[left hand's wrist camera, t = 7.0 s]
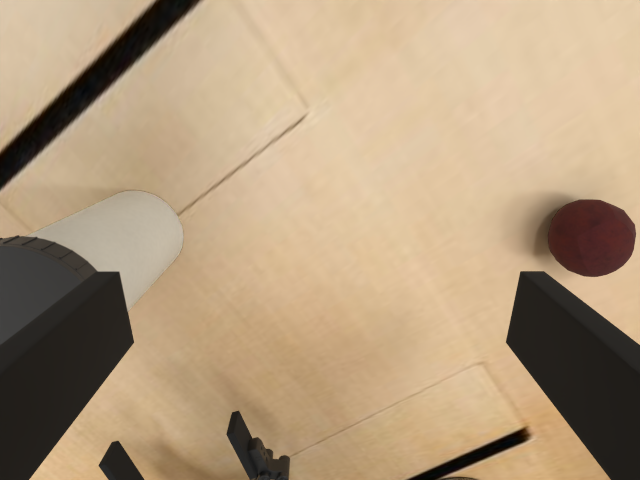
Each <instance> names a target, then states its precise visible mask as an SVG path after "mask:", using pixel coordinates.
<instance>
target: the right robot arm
mask: <svg viewBox="0 0 640 480" xmlns="http://www.w3.org/2000/svg"><path fill="white" fill-rule="evenodd" d="M227 436H228V438H229V440H230V442H231V444H232V446H233V448H234V450H235V452H236V454H237V455H238V457H239V459H240V461H241V463H242V465H243V467H244V469H245V471H246V473H247V475H248V477H249V479H250V480H270V479H271V480H289V465H290V458H289V457H288V456H285V455H284V456H281V457H280V458H279V459H272V458H273V451H272V450H270V449H265V447H264V445H263V443H262V441H261V440H260V439H259V438H258V437H257V438H253V439H252V437H251V435H250V433H249V430H248V428H247V426H246V424H245V422H244V420H243V418H242V416H241V414H240V412H239V411H236V412H232V415H231V419H230V422H229V426H228V430H227ZM99 467H100V468H101V470H102V471H103V473H104V474H105V475H106V477H107V478H108V479H109V480H144V478H143V477H142V475H141V474H140V472H139V471H138V469H137V468H136V466H135V465H134V463H133V462H132V460H131V459H130V457H129V456H128V454H127V453H126V451H125V450H124V448H123V447H122V445H121V444H120V442H119V441H115V442H112V443H111V445H110V447H109V448H108V450H107V452H106V454H105V455H104V457H103V459H102V461H101V462H100V464H99ZM445 480H474V479H467V478H452V479H445Z"/></svg>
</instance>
